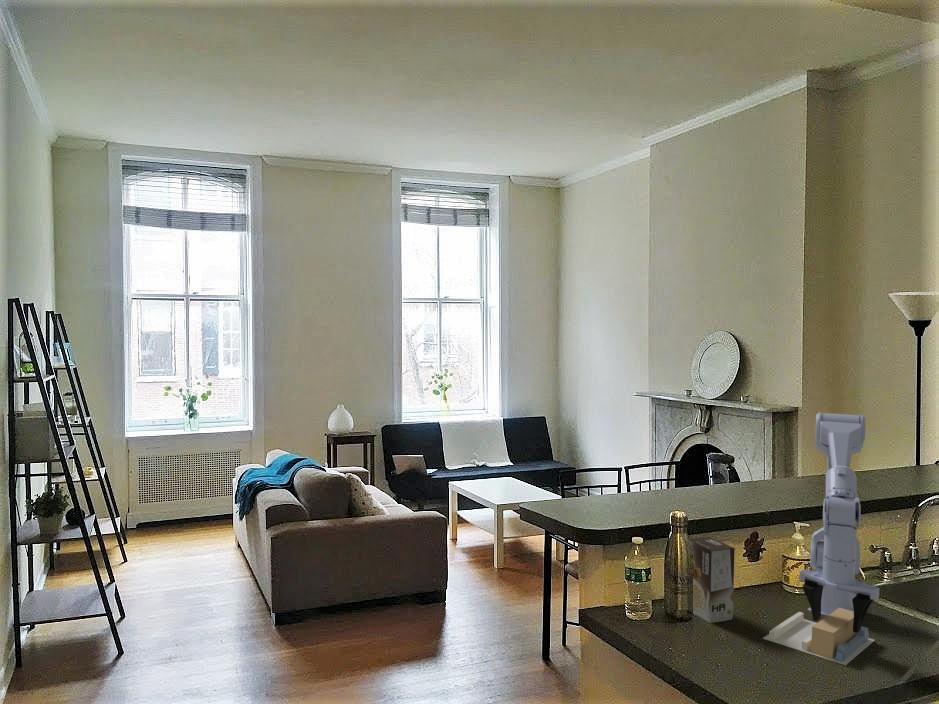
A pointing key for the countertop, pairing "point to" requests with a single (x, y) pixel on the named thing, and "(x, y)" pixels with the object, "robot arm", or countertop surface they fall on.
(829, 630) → the tan bar
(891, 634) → the countertop surface
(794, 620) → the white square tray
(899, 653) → the countertop surface
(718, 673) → the countertop surface
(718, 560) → the coffee box
